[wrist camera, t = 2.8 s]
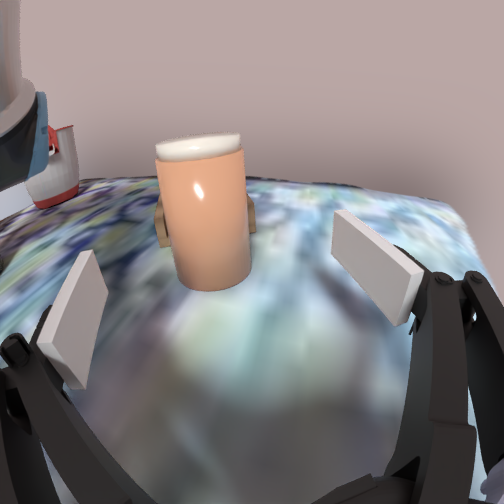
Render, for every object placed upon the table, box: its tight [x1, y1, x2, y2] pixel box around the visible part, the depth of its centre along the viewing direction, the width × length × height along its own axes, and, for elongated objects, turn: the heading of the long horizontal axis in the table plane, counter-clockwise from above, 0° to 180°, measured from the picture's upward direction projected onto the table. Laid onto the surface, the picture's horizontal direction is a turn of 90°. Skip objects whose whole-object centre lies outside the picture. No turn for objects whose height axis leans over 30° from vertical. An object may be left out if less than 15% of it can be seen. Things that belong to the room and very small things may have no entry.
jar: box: [155, 132, 251, 291], centre depth 23 cm, size 7×7×12 cm
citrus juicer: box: [24, 125, 79, 209], centre depth 50 cm, size 16×17×20 cm
